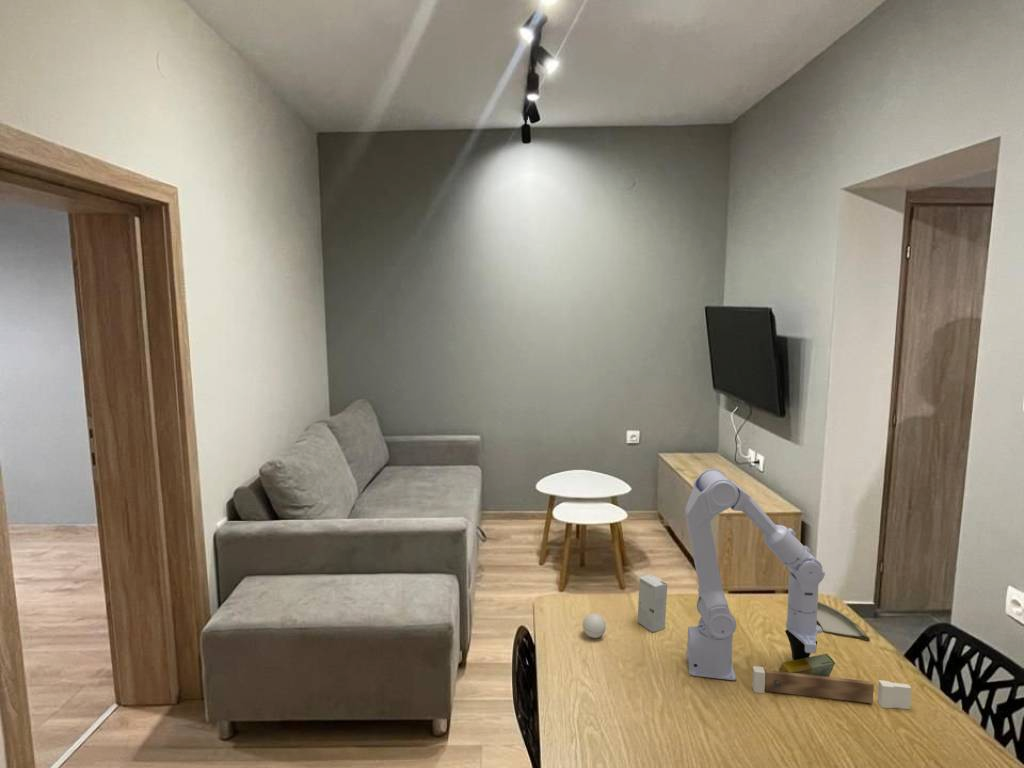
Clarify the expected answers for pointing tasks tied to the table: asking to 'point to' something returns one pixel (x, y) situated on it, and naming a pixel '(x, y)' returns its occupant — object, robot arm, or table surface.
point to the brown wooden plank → (819, 686)
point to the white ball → (594, 625)
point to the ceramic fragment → (838, 623)
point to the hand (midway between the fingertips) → (799, 666)
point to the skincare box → (652, 602)
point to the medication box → (809, 665)
